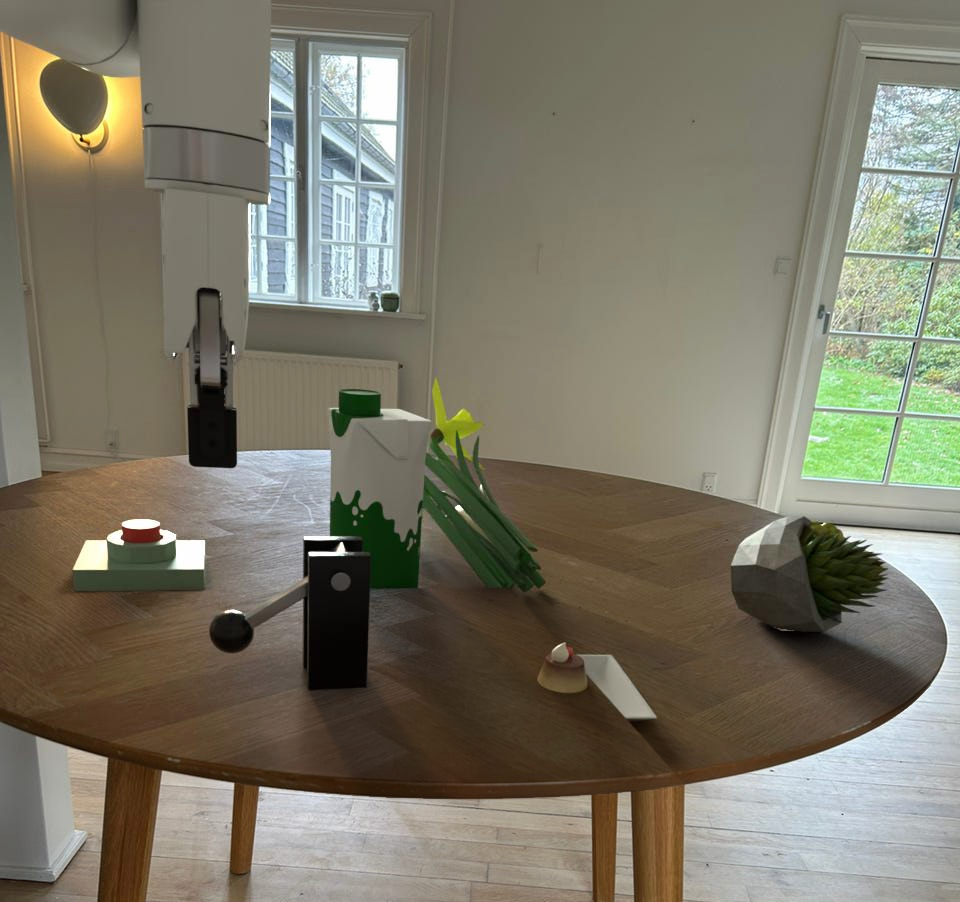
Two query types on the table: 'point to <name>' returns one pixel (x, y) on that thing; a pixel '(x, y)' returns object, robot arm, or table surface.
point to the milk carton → (378, 484)
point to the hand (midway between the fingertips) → (213, 464)
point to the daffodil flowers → (474, 509)
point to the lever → (255, 616)
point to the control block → (140, 564)
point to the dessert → (570, 677)
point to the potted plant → (803, 575)
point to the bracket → (336, 613)
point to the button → (141, 531)
